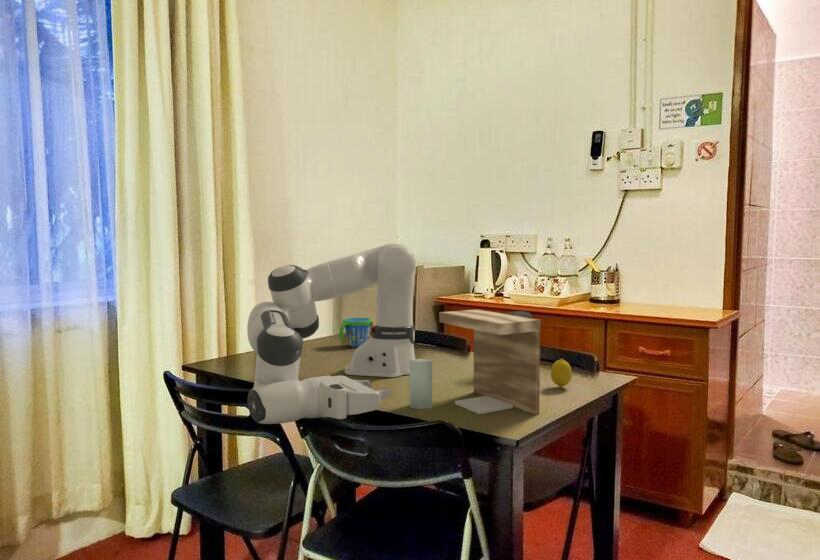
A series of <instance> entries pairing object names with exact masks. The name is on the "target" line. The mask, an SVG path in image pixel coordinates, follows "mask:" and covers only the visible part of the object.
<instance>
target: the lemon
mask: <svg viewBox="0 0 820 560" xmlns="http://www.w3.org/2000/svg"><path fill="white" fill-rule="evenodd" d="M572 375H573V372H572V367H571V365H570V363H569V362H567V361H566V360H564V359H563V358H559V360H556V361H555V362H554V363H552V366H551V370H550V378H551V381H552V382H553V383H554V384H555V385H556V386H558V388H561V389H562V388H564V387H565V386H568V384H569V383H570V382H571V380H572V377H573V376H572Z"/></svg>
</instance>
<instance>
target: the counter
mask: <svg viewBox="0 0 820 560" xmlns="http://www.w3.org/2000/svg"><path fill="white" fill-rule="evenodd" d="M438 315H439V317H438V319H439V321H438V322H439V323H442V324H446V325H452V326H456V327H460V328H464V329H469V330H472V331H473V393H474V394H477V395H480V396H478V397H470V398H465V399H459V400H455V401H454V405H456V406H459V407H461V408H463V409H466V410H468V411H471V412H474V413H475V414H477V415H482V414H489V413H493V412H499V411H505V410H509V409H514V408H516V409H518V410H521V411H524V412H527V413H530V414H532V415H535V416H536V415H540V395H541V394H540V391H541V390H540V388H541V387H540V386H541V384H540V383H541V380H540V379H541V376H540V375H541V319H538V318H533V317H532V318H526V317H520V316H514V315H508V314H504V313H503V312H496V311H490V310H483V309H477V308H476V309H466V310H453V311H452V310H451V311H439V312H438Z"/></svg>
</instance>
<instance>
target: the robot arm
mask: <svg viewBox="0 0 820 560" xmlns="http://www.w3.org/2000/svg"><path fill="white" fill-rule="evenodd" d="M415 277H416V257H415V254H414V252H413V251H412V250H411V248H409V247H408V246H406V245H404V244H399V243H387V244H384V245H380V246H377V247H372V248H370V249H366V250H363V251H360V252H357V253H354V254H350V255H347V256H344V257H341V258H336V259H333V260H329V261H326V262H322V263H319V264H316V265H315V266H312V267H309V268H307V269H303V268H302V267H301V266H298V265H295V264H288V265H287V264H286V265H282V266H279V267H277V268H275V269H274V270H272V271H271V272H270V273H269V275H268V276H267V285H268V286H267V287H268V290H269V291H270V295H271V300H272V301H262V302H260V303H258V304H256V305H255V306H254V307H253V308H252V310H251V311H250V313H249V315H248V319H247V327H246V328H247V329H246V330H247V338H248V339H247V340H248V343H249V346H250V347H251V349H252V350H253V351H254V352H255V353H256V359H255V360H256V361H255V373H254V383H253V388H251V389H250V390H249V392H248V395H247V407H248V411H249V414H250V416H251V418H252V419H253V421H255V422H256V423H257V424H261V425H264V424H265V425H275V424H277V425H279V424H287V423H292V422H297V421H299V420H301V419H306V418H307V419H317V418H331V419H334V420H335V419H336V420H343V419H347V416H348V415H349V416H352V415H353V416H354V415H359V414H363V413H364V414H365V413H368V412H373V411H375V410H378V409H379V408H381V400H383V399H387V398H391V389H389V388H387V387H386V388H380V389H379V390H376V389H373V386H372V384H373V383H372V381H371V380H369V379H365V380H364V379H363V380H361V379H352V378H350V377H348V376H345V375H349V376H365V377H382V378H396V377H401V376H404V375H409V361H411V360H415V359H416V354H415V348H414V347H415V346H414V345H415V344H414V343H415V341H416V340H415V338H416V337H415V333H416V332H415V325H414V323H413V320H414V319H413V315H414V314H413V313H414V311H413V310H414V309H413V308H414V307H413V306H414V305H413V304H414V303H413V302H414V301H413V299H414V297H413V296H414V287H415ZM374 286H377V290H376V291H377V292H376V324H374V323H373V325H372V326H371V327H370V329H369V331H370V333H369V337H368V340H367V341H365V342H364V343H363V344H362V345H360V346H359V347H356V349H355V350H354V351H353V354H352V358H351V363H349V364H347V365H346V366H345V367H344V374H345V375H334V376H331V375H329V374H328V375H321V376H313V377H307V378H304V379H302V380H300V379H299V375H300V373H299V372H300V364H301V358H302V357H301V356H302V351H303V347H304V339H308V338H309V337H311V336H313V335H314V334H315V333H316V332H317V331H318V329H319V328H320V320H319V319H320V318H319V315H318V312H317V307H316V306H317V305H316V302H323V301H327V300H331V299H336V298H339V297H343V296H347V295H350V294H353V293H357V292H360V291H364V290H367V289H369V288H372V287H374Z"/></svg>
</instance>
